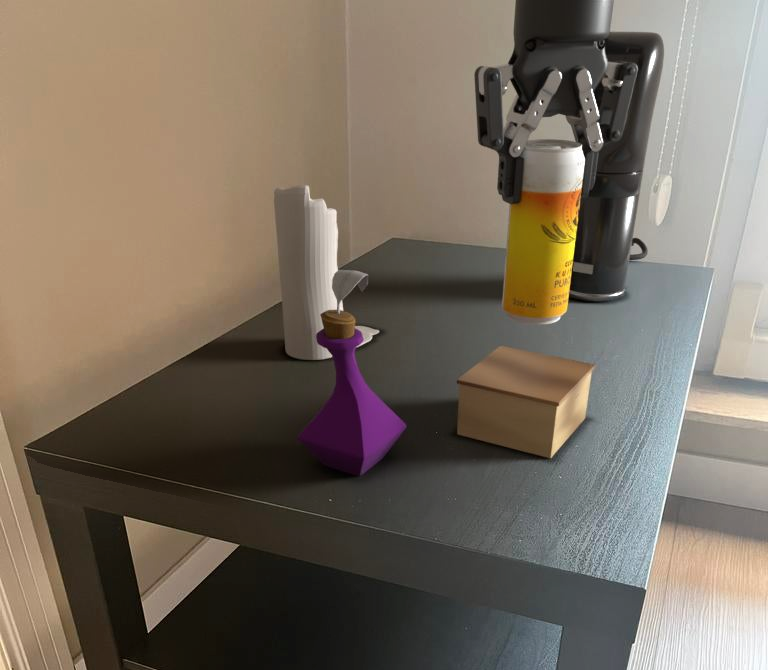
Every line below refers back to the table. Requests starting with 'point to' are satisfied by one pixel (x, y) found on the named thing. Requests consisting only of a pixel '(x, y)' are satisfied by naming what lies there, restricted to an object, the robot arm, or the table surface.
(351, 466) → the purple potion bottle
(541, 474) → the table surface
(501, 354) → the wooden box
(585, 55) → the robot arm
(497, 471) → the table surface
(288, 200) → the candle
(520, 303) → the beer can
